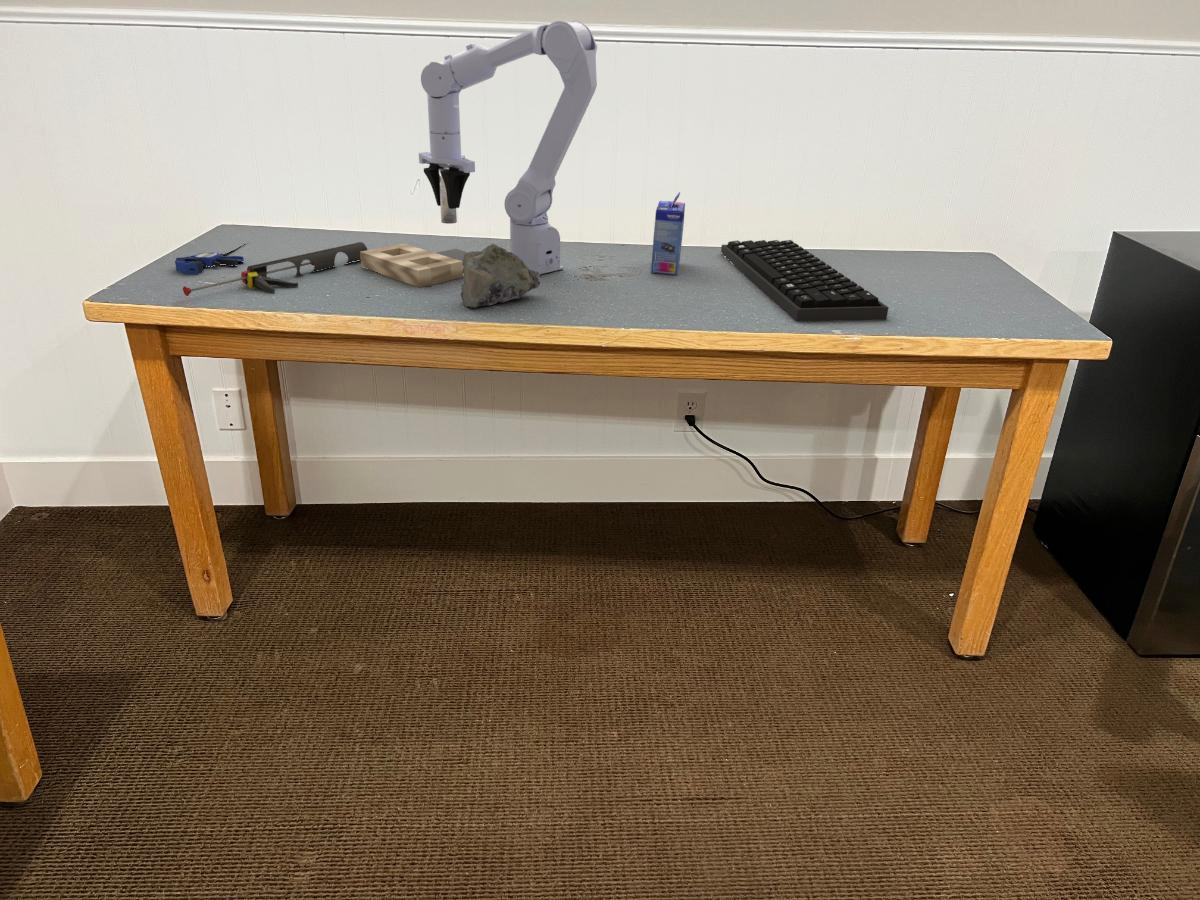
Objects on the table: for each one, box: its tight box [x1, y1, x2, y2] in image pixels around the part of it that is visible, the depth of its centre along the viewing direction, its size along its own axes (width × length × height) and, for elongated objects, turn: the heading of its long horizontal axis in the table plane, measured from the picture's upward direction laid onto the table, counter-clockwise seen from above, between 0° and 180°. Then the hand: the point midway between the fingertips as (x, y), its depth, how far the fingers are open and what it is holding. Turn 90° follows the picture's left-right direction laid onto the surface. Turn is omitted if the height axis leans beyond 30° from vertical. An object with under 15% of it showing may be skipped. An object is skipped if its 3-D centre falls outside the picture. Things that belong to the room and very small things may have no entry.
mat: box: [436, 248, 467, 266], centre depth 172 cm, size 10×10×1 cm
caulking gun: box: [182, 241, 368, 297], centre depth 155 cm, size 4×37×10 cm
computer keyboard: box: [720, 239, 889, 323], centre depth 163 cm, size 45×16×4 cm, turn 9°
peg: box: [439, 168, 458, 225], centre depth 167 cm, size 3×3×10 cm
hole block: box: [360, 243, 464, 288], centre depth 162 cm, size 18×10×3 cm, turn 47°
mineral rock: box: [460, 243, 541, 309], centre depth 145 cm, size 13×11×10 cm
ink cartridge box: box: [650, 191, 686, 276], centre depth 168 cm, size 10×6×14 cm, turn 173°
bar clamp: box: [174, 252, 245, 275], centre depth 172 cm, size 32×2×10 cm
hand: (448, 206), depth 168 cm, fingers closed on peg, 3 cm apart
